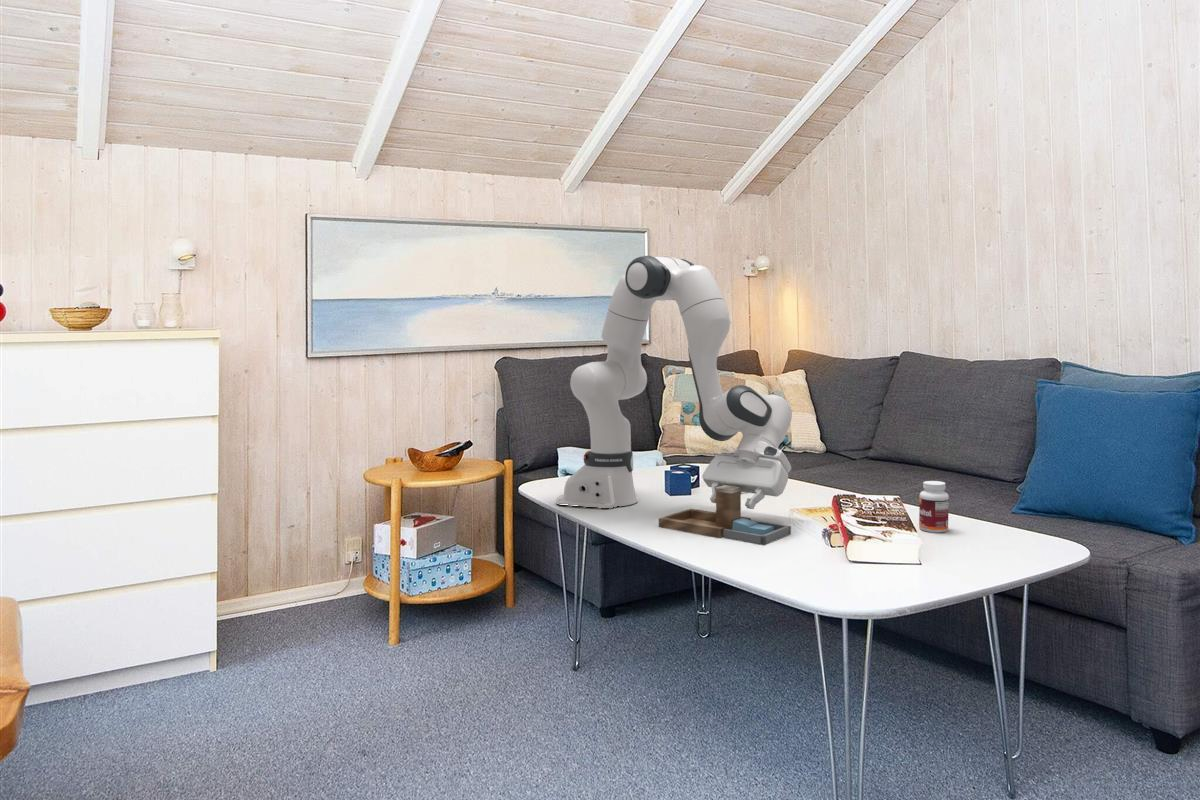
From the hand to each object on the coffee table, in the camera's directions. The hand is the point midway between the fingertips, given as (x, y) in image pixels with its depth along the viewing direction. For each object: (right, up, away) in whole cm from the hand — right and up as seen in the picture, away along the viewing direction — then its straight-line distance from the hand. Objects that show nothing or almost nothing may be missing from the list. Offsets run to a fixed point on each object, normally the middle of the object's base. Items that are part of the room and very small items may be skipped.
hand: (730, 504), depth 178 cm
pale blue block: (+3, -7, -1) cm, 7 cm away
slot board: (-5, -7, +6) cm, 11 cm away
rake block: (0, -6, +1) cm, 6 cm away
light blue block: (+6, -7, -4) cm, 10 cm away
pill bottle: (+47, -7, +3) cm, 48 cm away
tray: (+5, -8, -3) cm, 10 cm away
